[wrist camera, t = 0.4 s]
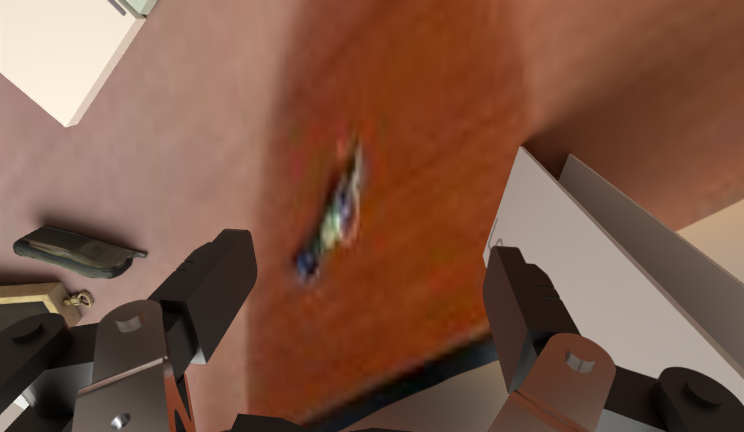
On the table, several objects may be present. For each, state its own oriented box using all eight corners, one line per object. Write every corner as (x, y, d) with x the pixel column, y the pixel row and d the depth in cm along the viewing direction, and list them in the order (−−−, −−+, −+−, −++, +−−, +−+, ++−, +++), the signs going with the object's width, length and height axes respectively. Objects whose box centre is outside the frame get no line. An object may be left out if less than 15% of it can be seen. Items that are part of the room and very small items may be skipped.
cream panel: (77, 124, 40) (65, 127, 39) (-26, 37, 37) (-43, 37, 36) (146, 19, 35) (135, 18, 33) (32, -97, 31) (13, -103, 30)
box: (-59, 281, 53) (-95, 304, 49) (92, 268, 54) (69, 289, 50) (-27, 321, 57) (-57, 345, 53) (113, 308, 58) (95, 331, 54)
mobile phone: (11, 258, 45) (123, 288, 45) (5, 239, 44) (120, 270, 44) (47, 238, 50) (149, 265, 50) (42, 221, 48) (147, 248, 48)
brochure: (519, 145, 37) (799, 434, 10) (572, 153, 37) (991, 467, 10) (482, 255, 43) (594, 601, 17) (526, 262, 43) (708, 622, 17)
